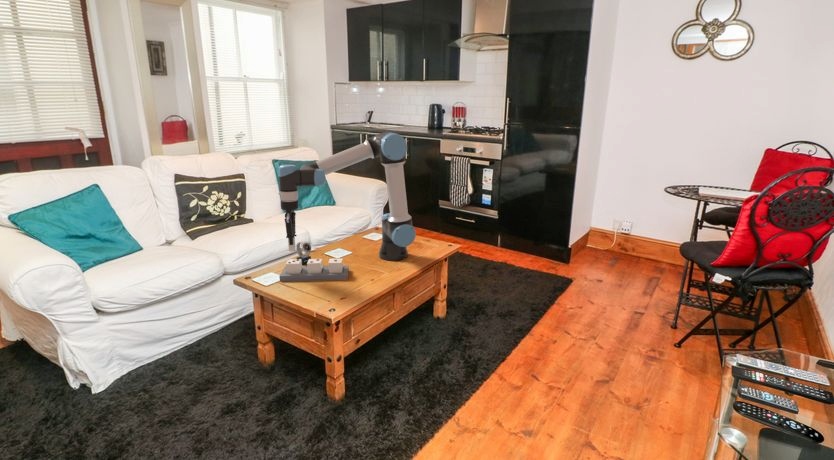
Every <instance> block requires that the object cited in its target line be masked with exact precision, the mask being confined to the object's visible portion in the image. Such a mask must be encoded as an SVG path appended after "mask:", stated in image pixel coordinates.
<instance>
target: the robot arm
mask: <svg viewBox="0 0 834 460" xmlns="http://www.w3.org/2000/svg"><path fill="white" fill-rule="evenodd" d="M407 152H408V143H407V141H406V140H405V138H404V137H403V136H402V135H400V134H399V133H396V132H391V131H383V132H379V133H378V134H375V135H374V136H371V137H369V138H367V139H364V142H362V143H360V144H357V145H355V146H352V147H350V148H347V149H345V150H343V151H340V152H337V153H335V154H332V155H329V156H327V157H324V158H322V159H319V160H317V161H314V162H312V163H306V164H304V165H302V166H301V167H300V168H297V165H295V164H281V165H279V167H278V179H279V180H278V181H279V193H278V195H280V209H281V210H283V211H285V213H284V222H285V223H284V224H285V231H286V233H285V234H286V237H285V238H286V239H287V240H288V242H287V244H288V252H296V237H297V234H296V233H297V232H296V215H297V213H296V211H295V210H298V209H299V200H298V199H299V191H298V187H321V186H324V185H326V183H325V182H326V175H327V176H328V175H330V174H332V173H334V172H337V171H340V170H342V169H344V168H347V167H349V166H352V165H354V164H357V163H360V162H362V161H365V160H367V159H370V158H371V159H375V158H378V157H380V165H382V166H383V167H384V172H385V179H386V180H385V181H386V189H387V197H388V199H387V200H388V207H389V212H388V213H387V212H386V213H384V214H382V215H381V236H382V237H381V239H382V240H381V246H380V248H379V252H378V257H379V258H380V259H381V260H386V261H401V259H402V260H404V258H405V259H407V258H408V257H407V256H409V255H408V254H409V251H408V249H407V247H408V246H410V245H412V244H413V242H414V241H415V240H416V238H417V237H416V236H417V232H416V229H415V227H414V226H413V220H412V218H413V217H412V216H411V215H410V214H409V212H408V200H407V192H406V182H405V171H404V165H405V163H406V162H407V160H406V154H407ZM406 257H407V258H406Z"/></svg>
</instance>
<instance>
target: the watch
mask: <svg viewBox="0 0 834 460" xmlns="http://www.w3.org/2000/svg"><path fill="white" fill-rule="evenodd" d="M295 251H296V252H297V255H298V257H296V259H301V260H302V266H305V265H307V262H308V260H309V259H312V257H311V252H312V245H311V244H310V243H309V242H307V241H304V240H303V241H299V242H297V244H295ZM303 252H304V254H303Z"/></svg>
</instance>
